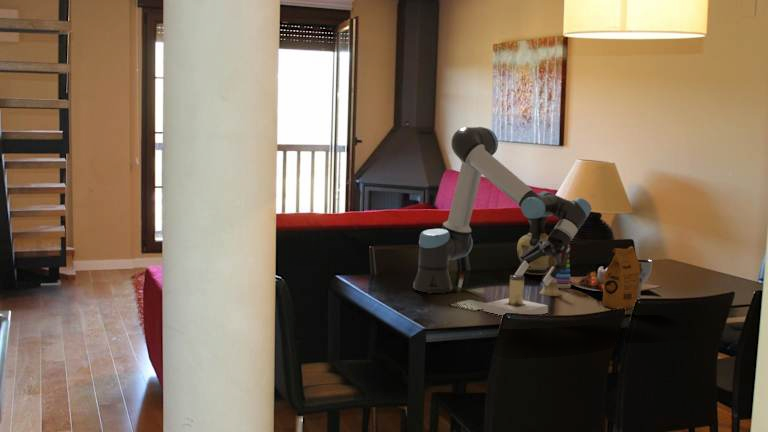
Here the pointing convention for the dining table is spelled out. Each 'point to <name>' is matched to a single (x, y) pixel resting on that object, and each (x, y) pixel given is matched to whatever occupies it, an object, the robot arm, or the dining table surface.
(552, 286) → the hand bell
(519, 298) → the beige cylinder
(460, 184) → the robot arm
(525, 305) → the housing
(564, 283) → the stacking toy
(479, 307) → the mat
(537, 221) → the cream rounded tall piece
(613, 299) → the coffee package
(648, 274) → the wine glass
